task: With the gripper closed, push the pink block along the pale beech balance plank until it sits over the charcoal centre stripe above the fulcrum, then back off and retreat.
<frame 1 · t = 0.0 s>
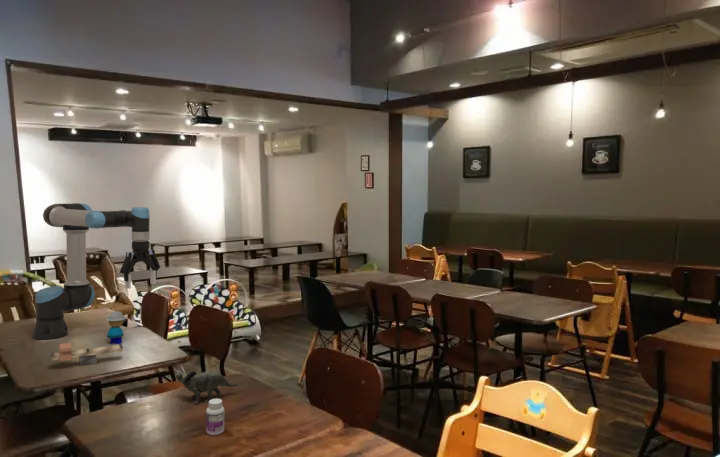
hand: (140, 286, 238), 28 cm above the table, fingers open, 13 cm apart
beam: (87, 363, 214), on the table
dinosaur figurine: (205, 400, 180), on the table
pill bottle: (215, 432, 157), on the table
pink block: (65, 351, 209), point 6 cm above the table, slide at -8.0 cm
toy: (116, 342, 243), on the table
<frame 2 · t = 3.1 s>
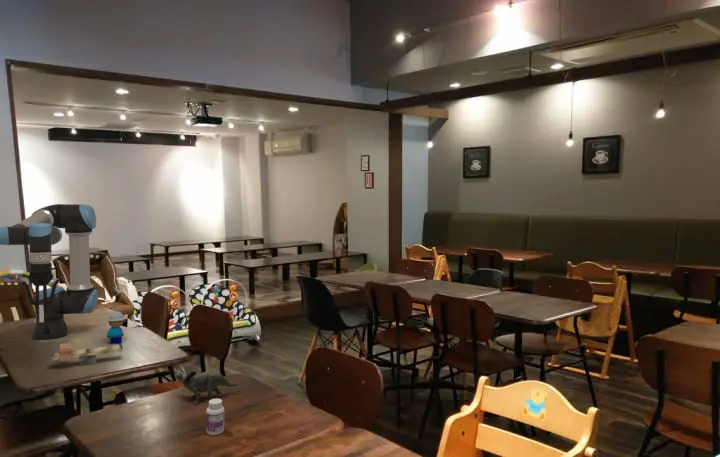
hand: (41, 321, 204), 20 cm above the table, fingers closed
nothing on the table moved.
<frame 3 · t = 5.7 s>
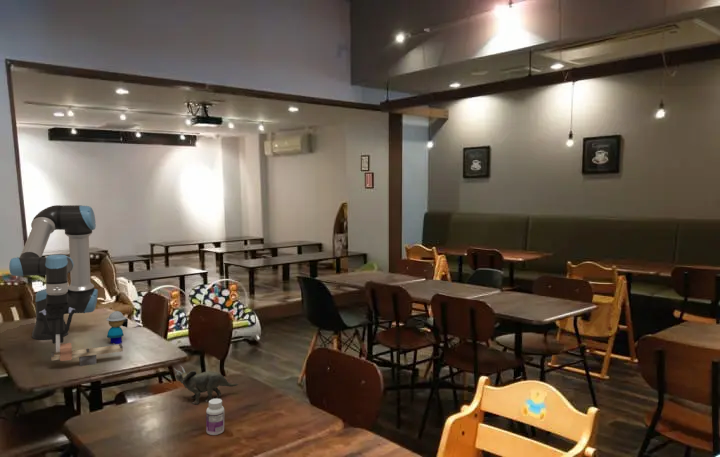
hand: (58, 350, 207), 7 cm above the table, fingers closed
pink block: (65, 351, 209), point 6 cm above the table, slide at -7.9 cm, touching gripper
everything else where it was.
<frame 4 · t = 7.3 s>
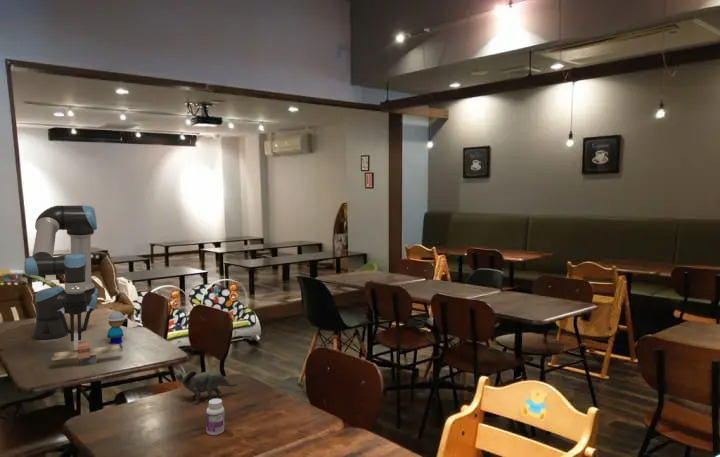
hand: (76, 348, 211), 7 cm above the table, fingers closed
pink block: (83, 349, 212), point 6 cm above the table, slide at -1.5 cm, touching gripper
everything else where it was.
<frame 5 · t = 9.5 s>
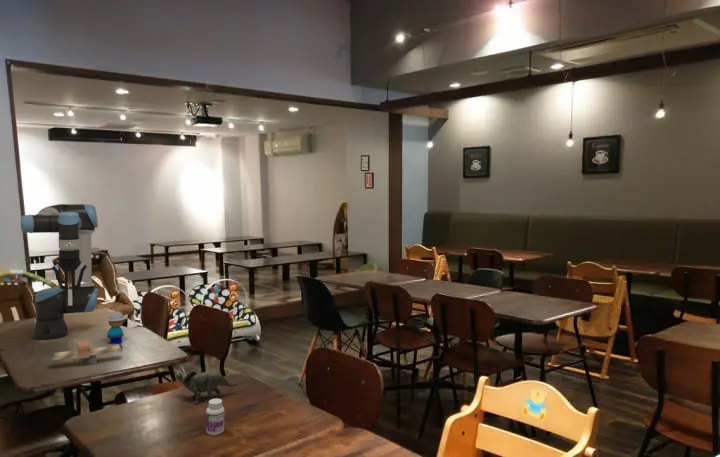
hand: (70, 304, 215), 24 cm above the table, fingers closed
pink block: (83, 349, 212), point 6 cm above the table, slide at -1.5 cm
everything else where it was.
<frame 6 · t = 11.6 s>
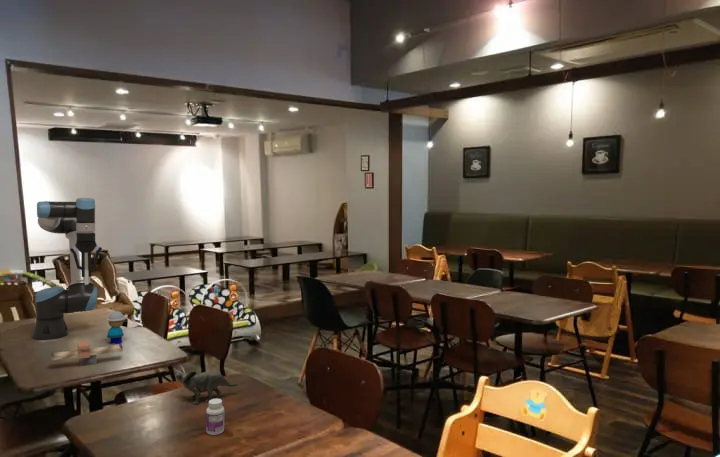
hand: (86, 284, 232), 29 cm above the table, fingers closed
nothing on the table moved.
at the end: pink block slide at -1.5 cm; the gripper is holding nothing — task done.
